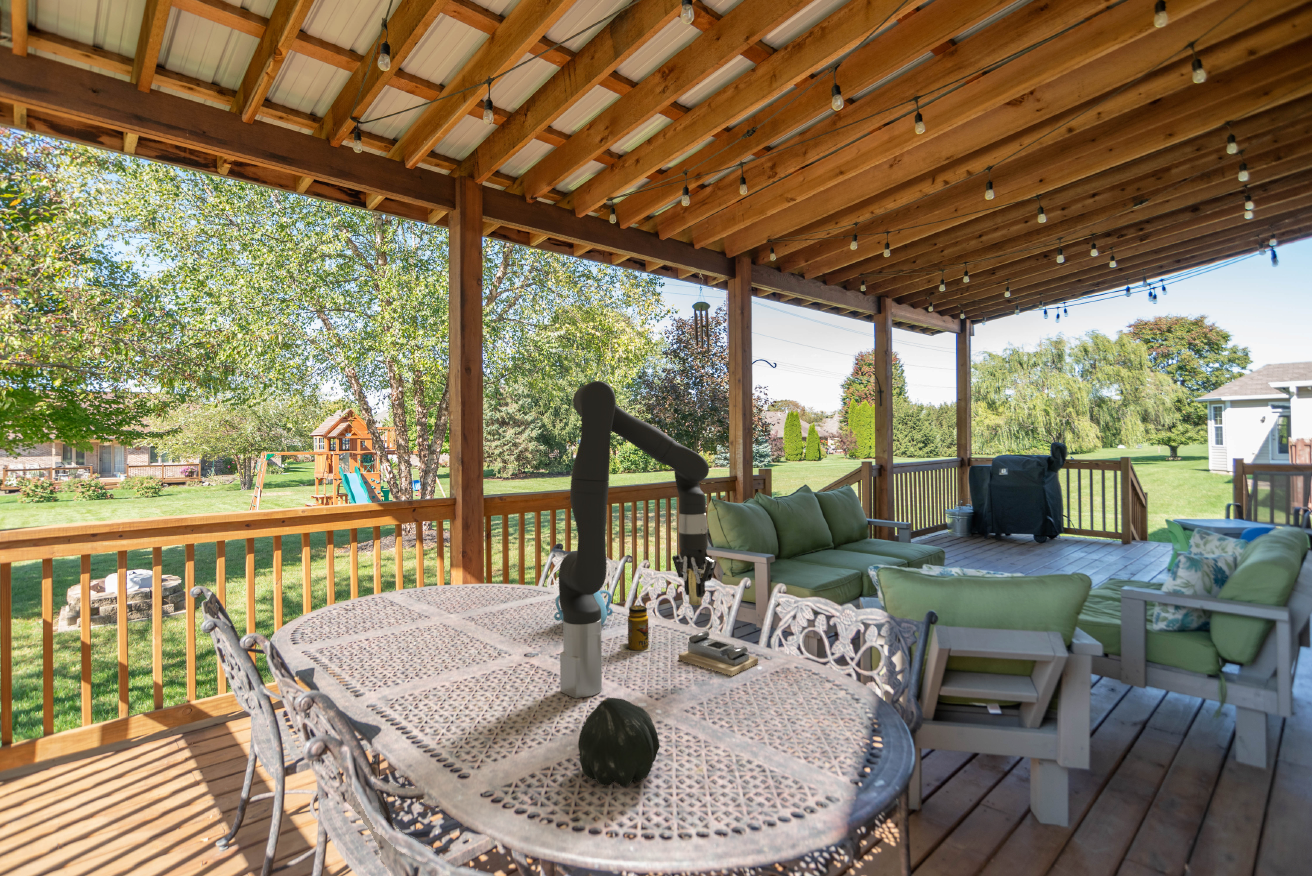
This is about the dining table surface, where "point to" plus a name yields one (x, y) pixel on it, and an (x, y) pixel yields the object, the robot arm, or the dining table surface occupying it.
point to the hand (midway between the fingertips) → (694, 595)
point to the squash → (618, 743)
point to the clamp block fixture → (717, 655)
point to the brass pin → (693, 588)
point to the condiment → (637, 630)
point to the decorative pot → (599, 600)
